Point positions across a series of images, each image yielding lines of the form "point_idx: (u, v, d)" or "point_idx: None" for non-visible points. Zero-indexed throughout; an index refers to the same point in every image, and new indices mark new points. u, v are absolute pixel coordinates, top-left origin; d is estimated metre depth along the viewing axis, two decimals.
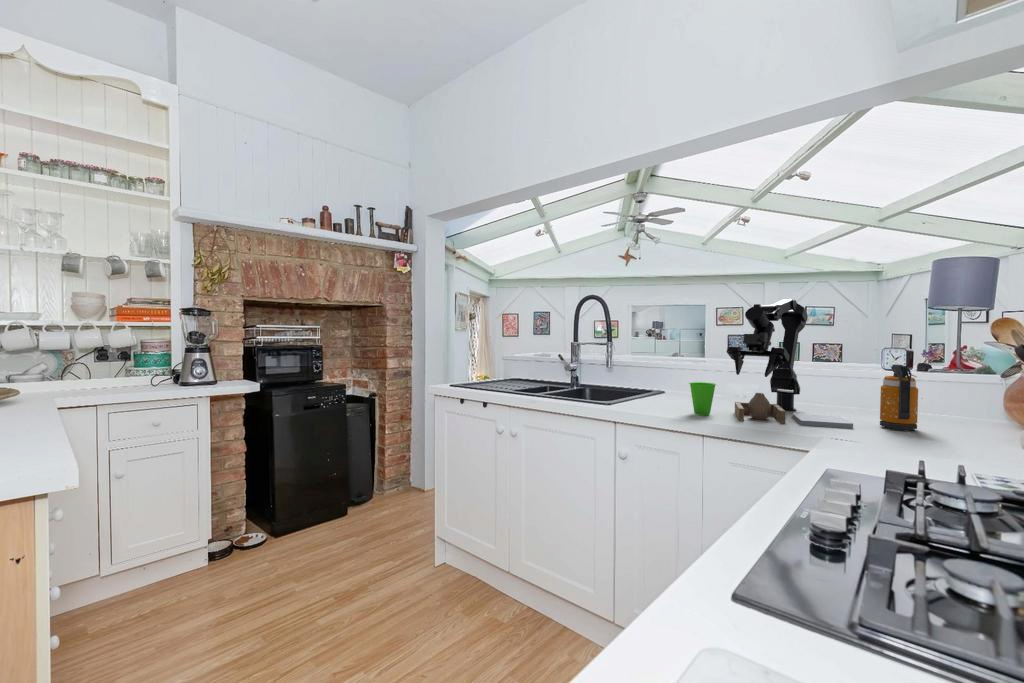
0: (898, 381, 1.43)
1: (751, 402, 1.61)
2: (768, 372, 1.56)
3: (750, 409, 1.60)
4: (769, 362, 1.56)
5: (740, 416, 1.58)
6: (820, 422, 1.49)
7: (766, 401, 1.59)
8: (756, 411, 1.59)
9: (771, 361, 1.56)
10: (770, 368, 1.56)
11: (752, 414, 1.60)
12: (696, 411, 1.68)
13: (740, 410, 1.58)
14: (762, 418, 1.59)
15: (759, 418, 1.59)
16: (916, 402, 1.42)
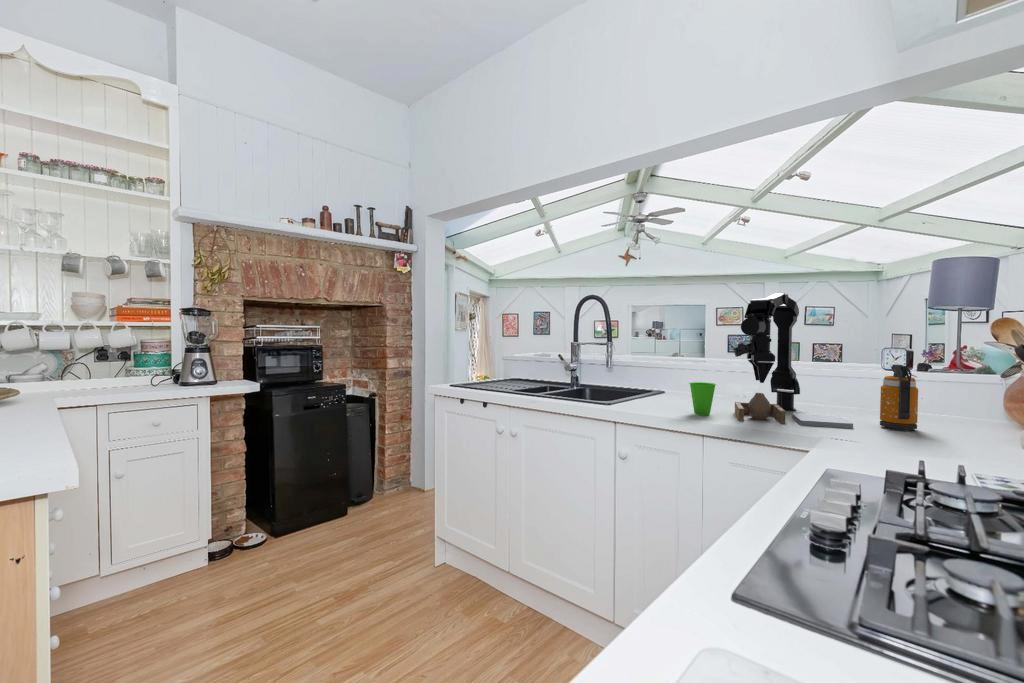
0: (898, 381, 1.43)
1: (751, 402, 1.61)
2: (761, 378, 1.56)
3: (750, 409, 1.60)
4: (757, 369, 1.56)
5: (740, 416, 1.58)
6: (820, 422, 1.49)
7: (766, 401, 1.59)
8: (756, 411, 1.59)
9: (757, 368, 1.56)
10: (761, 374, 1.56)
11: (752, 414, 1.60)
12: (696, 411, 1.68)
13: (740, 410, 1.58)
14: (762, 418, 1.59)
15: (759, 418, 1.59)
16: (916, 402, 1.42)
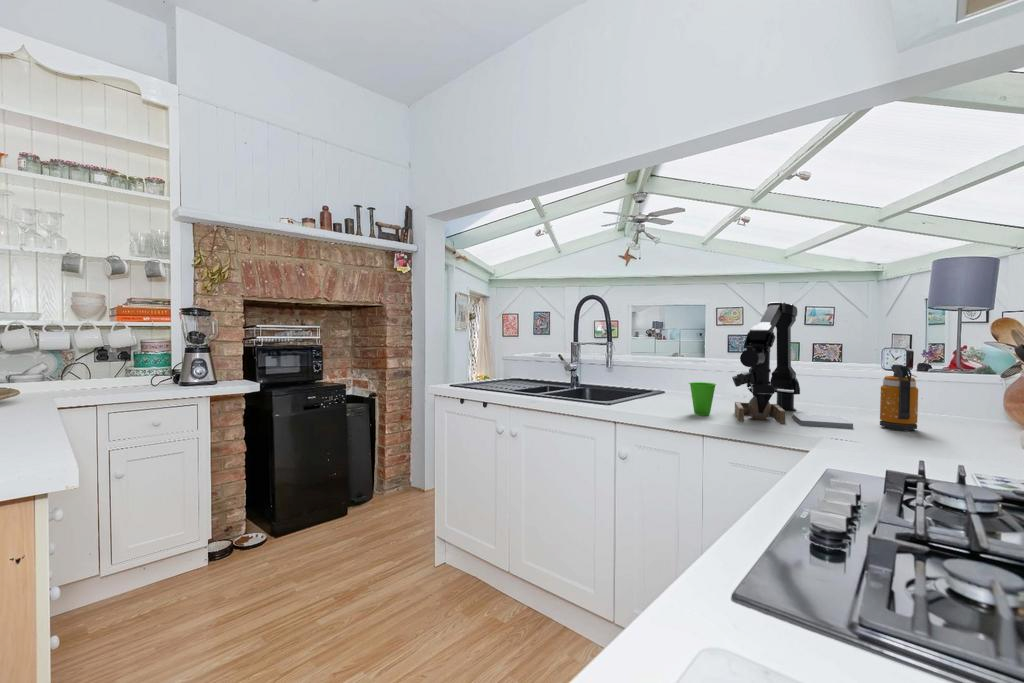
0: (898, 381, 1.43)
1: (751, 402, 1.61)
2: (760, 408, 1.57)
3: (750, 409, 1.60)
4: None
5: (740, 416, 1.58)
6: (820, 422, 1.49)
7: None
8: (756, 411, 1.59)
9: (756, 398, 1.57)
10: (760, 404, 1.57)
11: (752, 414, 1.60)
12: (696, 411, 1.68)
13: (740, 410, 1.58)
14: (762, 418, 1.59)
15: (759, 418, 1.59)
16: (916, 402, 1.42)
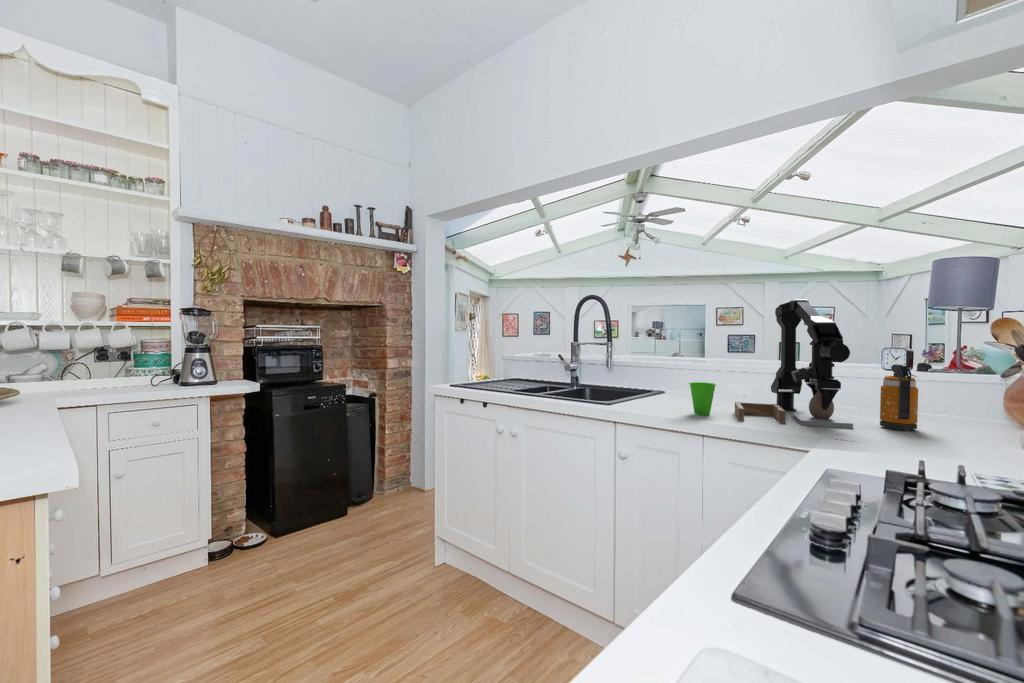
0: (898, 381, 1.43)
1: (813, 400, 1.54)
2: (825, 405, 1.50)
3: (812, 408, 1.54)
4: (820, 395, 1.50)
5: (740, 416, 1.58)
6: (820, 422, 1.49)
7: None
8: (819, 410, 1.52)
9: (820, 394, 1.50)
10: (824, 401, 1.50)
11: (814, 413, 1.54)
12: (696, 411, 1.68)
13: (740, 410, 1.58)
14: (825, 417, 1.52)
15: (822, 417, 1.53)
16: (916, 402, 1.42)
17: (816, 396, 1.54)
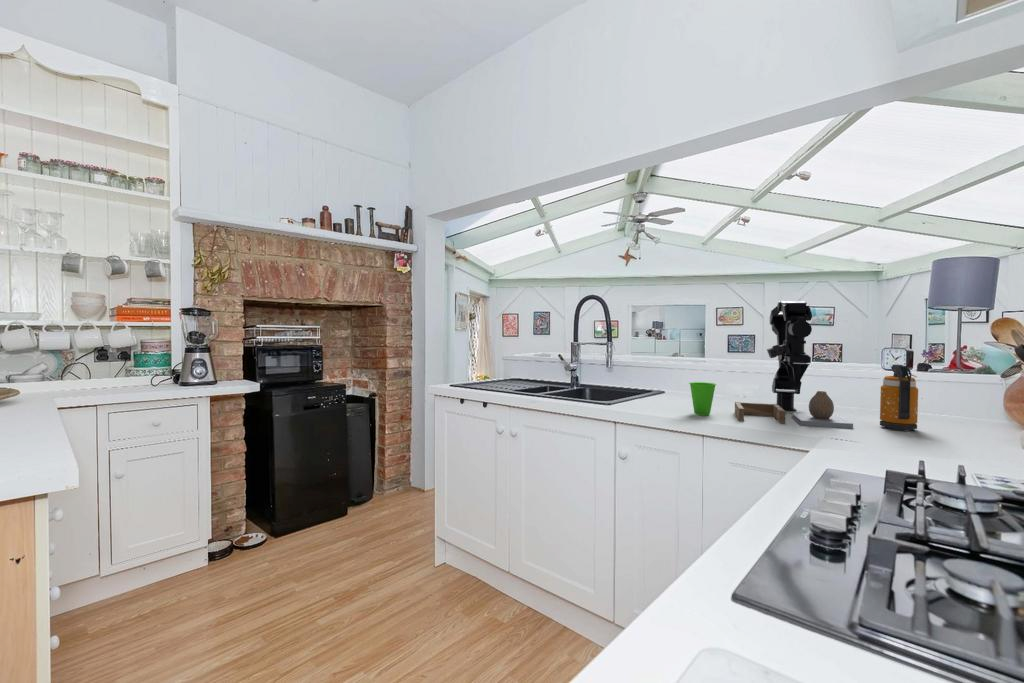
0: (898, 381, 1.43)
1: (813, 401, 1.54)
2: (797, 379, 1.61)
3: (812, 408, 1.54)
4: (793, 370, 1.61)
5: (740, 416, 1.58)
6: (820, 422, 1.49)
7: (829, 400, 1.52)
8: (819, 410, 1.52)
9: (793, 369, 1.61)
10: (796, 375, 1.61)
11: (814, 413, 1.54)
12: (696, 411, 1.68)
13: (740, 410, 1.58)
14: (825, 417, 1.52)
15: (822, 417, 1.53)
16: (916, 402, 1.42)
17: (816, 396, 1.54)
